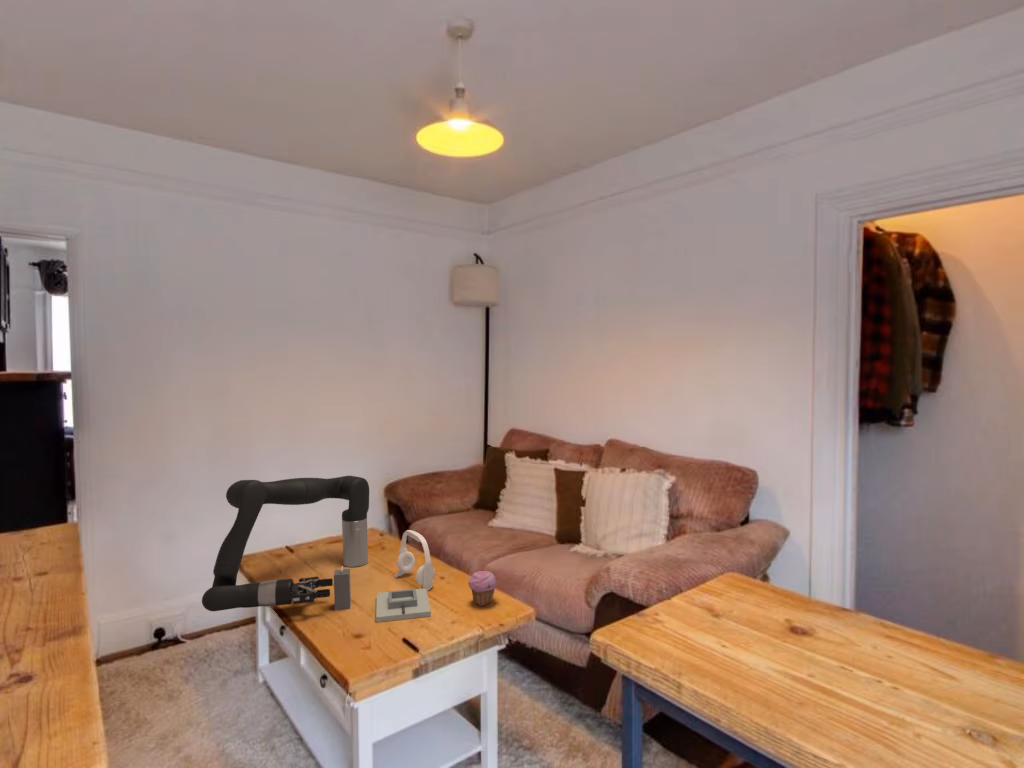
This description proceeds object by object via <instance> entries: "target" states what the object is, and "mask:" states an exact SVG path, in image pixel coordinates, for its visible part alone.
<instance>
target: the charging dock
mask: <svg viewBox="0 0 1024 768" xmlns="http://www.w3.org/2000/svg"><path fill="white" fill-rule="evenodd" d="M375 604H376V611H375V616H376V617H375V621H376V623H383V622H391V621H401V620H408V619H418V618H427V617H431V615H432V610H431V605H430V600H429V596H428V590H427V589H426V588H423V587H422V588H410V589H400V590H390V591H384V592H376V603H375Z"/></svg>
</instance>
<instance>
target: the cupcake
mask: <svg viewBox="0 0 1024 768" xmlns="http://www.w3.org/2000/svg"><path fill="white" fill-rule="evenodd" d="M468 586H469V587H468V588H469V589H470V590H471V596H472V599H473V602H474V603H475V604H477V605H479V606H480V607H484V606H486V605H488V604H490V603H491V601H492V600H493V599H494V596H495V589H496V588H497V578H496V576H495V574H494V573H492V572H491V571H488V570H479V571H475V572H473V574H472V575H471V576H470V577H469V578H468Z"/></svg>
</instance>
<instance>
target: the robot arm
mask: <svg viewBox="0 0 1024 768" xmlns="http://www.w3.org/2000/svg"><path fill="white" fill-rule="evenodd" d="M225 498H226V501H227V503H229V505H230V506H232V507H234V508H235V509H238V511H237V515H236V518H235V520H234V522H233V525H232V527H231V529H230V530H229V532H228V533H227V535H226V536H225V538H224V540H223V541H222V543H221V544H220V545H221V546H220V547H219V551H218V553H217V556H216V559H215V562H214V566H213V571H212V572H213V575H214V577H213V582H212V586H211V587H210V588H208V589H207V590H206V591H205V592H204V593H203V595H202V596H201V597H202V598H201V603H202V606H203V608H205V610H207V611H209V612H220V611H225V610H227V611H228V610H232V609H239V608H240V609H241V608H242V609H243V608H244V609H246V608H259V607H265V608H266V607H274V606H275V607H276V606H285V605H291V604H305V603H306V604H307V603H313V602H314V601H315V600H317V599H318V598H319V599H321V598H322V599H323V598H329V597H330V595H331V589H330V588H324V587H332V586H333V585H334V578H323V579H321V578H319V576H312V577H311V576H310V577H303V578H299V579H298V582H297V583H295V582H294V579H293V578H282V579H273V580H272V579H270V580H265V581H261V582H258V581H257V582H249V583H248V582H247V583H245V584H239V585H237V581H238V580H237V578H238V574H239V570H240V567H241V564H242V559H243V557H244V552H245V549H246V546H247V543H248V540H249V538H250V535H251V533H252V530H253V528H254V526H255V523H256V521H257V519H258V516H259V514H260V513H261V510H262V508H263V506H264V505H273V504H274V505H283V506H284V505H285V506H295V505H296V506H301V505H310V504H315V503H318V502H321V501H322V500H327V499H339V500H346V501H348V509H345V510H343V511H342V512H341V528H342V529H341V530H342V531H341V532H342V533H341V534H342V536H341V537H342V564H343V565H342V566H343V567H344V566H345V567H349V568H356V567H361V566H364V565H366V564H367V563H368V562H369V543H368V541H369V540H368V536H369V535H368V512H369V508H370V485H369V482H368V481H367V479H366V478H364V477H362V476H356V475H343V476H339V477H331V478H330V477H329V478H323V477H297V478H296V477H295V478H287V479H280V480H275V481H260V480H257V479H241V480H238V481H235V482H234V483H233V484H231V485H230V486H228V488H227V490H226V494H225ZM317 588H324V589H317ZM316 589H317V590H316Z"/></svg>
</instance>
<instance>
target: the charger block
mask: <svg viewBox="0 0 1024 768" xmlns="http://www.w3.org/2000/svg"><path fill="white" fill-rule="evenodd" d="M351 585H352V584H351V568H344V565H342V566H341V567H340V569H335V570H334V573H333V590H334V591H333V595H334V596H333V597H334V599H333V600H334V611H342V610H350V609H351V606H352V605H351V604H352V596H351V594H352V592H351V591H352V590H351V589H352V588H351Z"/></svg>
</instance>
